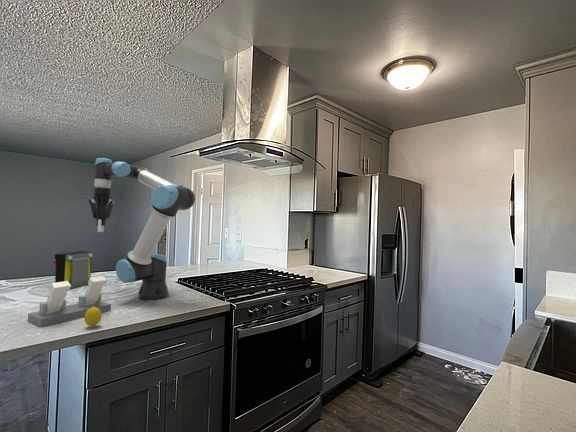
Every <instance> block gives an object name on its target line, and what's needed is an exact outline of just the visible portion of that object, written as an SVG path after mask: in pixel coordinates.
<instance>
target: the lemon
mask: <svg viewBox="0 0 576 432" xmlns="http://www.w3.org/2000/svg"><path fill="white" fill-rule="evenodd" d="M102 315H103V313H101V311H100V309H99V308H97V307H95V306H93V307H92V308H90V309H88V310H87V312H86V314H85V317H84V323H85V325H87V326H89V327H90V328H94V327H95V326H97V325H98V324H99V323H100V322H101V320H102V317H103V316H102Z"/></svg>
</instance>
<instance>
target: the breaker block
mask: <svg viewBox="0 0 576 432" xmlns="http://www.w3.org/2000/svg"><path fill="white" fill-rule="evenodd" d="M77 302H78V303H73V304H70V305H67V300H66V299H64V302H63V305H62V307H61V309H59V310H54V311H49V312H46V302H43V301H42V302H39V311H34V312H30V313H27V322H29V323H31V324H33V325H35V326H36V327H40V328H44V327H48V326H49V327H50V326H52V325H56V324H57V325H58V324H61V323H65V322H69V321H73V320H77V319H81V318H85V314H86V312H87V310H88V309H90V308H92V307H93V306H95V307H97V308H99V309H100V311H101V314H103V313H107V312H111V308H112V304H111V303H108V302H105V301H102V293H101V292H100V295H99V297H98V300H97V302H93V303H88V304H85V296H84V295H78V301H77Z"/></svg>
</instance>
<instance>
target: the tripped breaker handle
mask: <svg viewBox="0 0 576 432" xmlns="http://www.w3.org/2000/svg"><path fill="white" fill-rule="evenodd" d="M50 283H51V282H50ZM70 286H71V285H70V284H69V282H68V281H63V282H56V283H55V282H52V283H51V284H50V286H49V294H48V296H47V298H46V301H45V303H46V312H49V311H54V310H59V309H61V307H62V305H63V302H64V300H66V296H67V293H68V292H69V291H70Z"/></svg>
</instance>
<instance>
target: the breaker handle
mask: <svg viewBox="0 0 576 432" xmlns="http://www.w3.org/2000/svg"><path fill="white" fill-rule="evenodd" d="M106 283H107V279H106V277H105V276H104V275H100V276H99V275H98V276H92V277H90V279H89V281H88V285H87V288H86V290H85V293H84V295H83V296H85V304H88V303H93V302H97V300H98V297H99V295H100V293H101V292H102V289H103V287H104V286H105V284H106Z"/></svg>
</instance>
